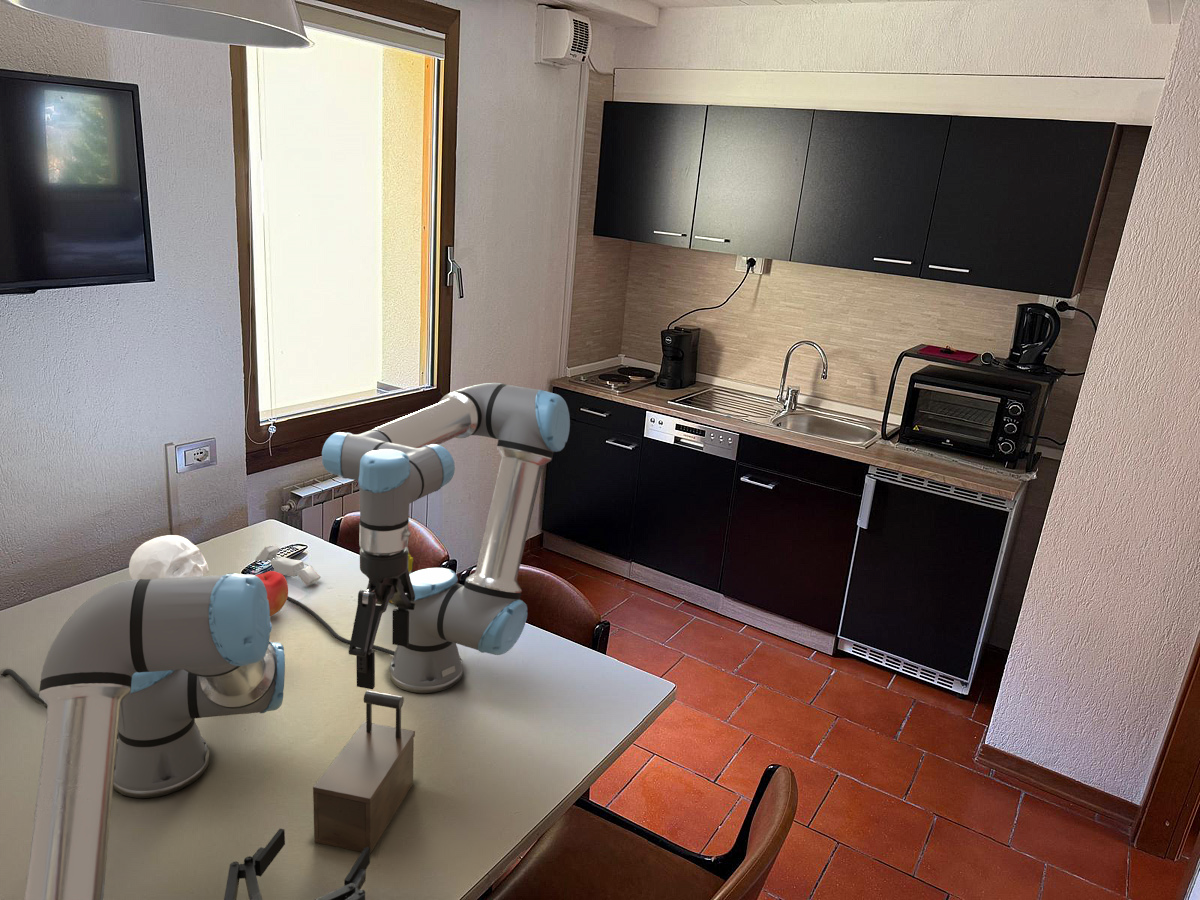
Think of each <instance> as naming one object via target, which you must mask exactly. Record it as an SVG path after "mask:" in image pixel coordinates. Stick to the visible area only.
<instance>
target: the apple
mask: <svg viewBox="0 0 1200 900" xmlns="http://www.w3.org/2000/svg"><path fill="white" fill-rule="evenodd" d="M255 576H257V577H258V578H260V579H261V580H262V582H263V583H264V586H265V588H266V591H267V600H268V602H269V608H270V617H273V616H275V615H276V614H278V613H279V612H280V611H281V610H282V609H283V607H284V606H285V605H286V603H287V602H288V601H287V598H288V596H289V584H288V581H287V579H286V577H285V575H282V574H281V573H278V572H275V571H268V570H267V571H266V572H264V573H259V574H255Z"/></svg>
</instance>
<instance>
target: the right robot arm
mask: <svg viewBox="0 0 1200 900" xmlns="http://www.w3.org/2000/svg"><path fill="white" fill-rule="evenodd" d="M570 419H571V418H570V411H569V407H568V404H567V402H566V400H565V399H564V398H563V397H562V396H561V395H560V394H557V393H553V392H551V391H546V390H543V389H537V388H530V387H523V386H518V385H517V386H516V385H512V384H506V383H502V382H487V383H479V384H475V385H471V386H467V387H463V388H460V389H457V390H454V391H452V392H449V393H447V394H445V395H444V396H443V397H441V399H440V400H439V402H438V403H435V404H433V405H430V406H427V407H425V408H422V409H420V410H418V411H415V412H413V413H410V414H408V415H405V416H402V417H399V418H397V419H395V420H392V421H390V422H387V423H385V424H382V425H380V426H377V427H374V428H373V429H370V430H368V431H364V432H362V433H358V434H354V433H351V432H341V431H338V432H334V433H332V434H331V435H330V436H329V437H328V438H326V440H325V442H324V444H323V446H322V451H321V463H322V465H323V468H324V469H325V470H326V472H328V473H329V474H332V475H334V476H338V477H340V478H342V479H346V480H347V479H348V480H353V481H357V482H358V488H359V489H358V490H359V491H358V493H359V533H358V534H359V540H358V541H359V543H358V544H359V548H360V549H359V570H360V571H361V573H362V574H364V576H366V577H367V578H368V583H367V586H366V590H362V589H360V590H359V591H358V593H357V606H356V612H355V616H354V621H353V627H352V630H351V631H352V632H351V637H350V639H347V638H345V637H342V636H341V635H340V634H338V633H337V632H336V631H335V630H334V629H333V627H331V625H330V624H329V623H327V622H326V621H325V620H324V619H323V618H322V617H321V616H320V615H318V614H317V613H316V612H315V611H314V610H312V609H311V608H310V607H308V606H307V605H305V604H304V603H302V602H300V601H299V600H297V599H296V598H293V597H291V596H289V595H288V598H287V601H286V602H290V603H292V604H293V605H295V606H297V607H299V608H300V609H302V610H303V611H304V612H306V613H308V614H309V615H310V616H311V617H312V618H314V619H315V620H316V621H317V622H318V623H319V624H320V625H321V626H322V627H323V628H324V629H326V631H327V632H328V633H329V635H331V636H332V637H333V638H334V639H335V640H337V641H339V642H341V643H343V644H345V645H349V647H348V655H349V656H350V655H351V656H356V662H355V663H356V664H355V665H356V666H355V667H356V688H362V689H367V690H371V691H374V690H375V687H376V653H375V652H376V651H377V652H380V653H383V654H387V655H389V656H392V659H391V660H390V665H389V679H390V681H391V682H392V683H393V684H394V685H395V686H396V687H398V688H399V689H401V690H404V691H407V692H410V693H416V694H430V693H431V694H432V693H438V692H441V691H445V690H447V689H450V688H451V687H453V686H455V685H456V684H457V683H458V682H459V681H460V680H461V679H462V676H463V672H464V664H463V660H462V657H461V656H460V653H459V649H458V646H457V645H460V646H462V647H463V646H464V647H467V648H470V649H473V650H476V651H478V652H480V653H483V654H484V653H487V654H490V655H494V656H501V655H504V654H506V653H508V652H509V651H510V650H511V649H512V648H513V647H514V646H515V644H516V643H517V642H518V640H519V639H520V637H521V635H522V633H523V631H524V629H525V626H526V623H527V619H528V604H526V603H525V602H524V601H523V600H522V599H521V597H522V593H523V590H522V588H521V586H520V585H519V583H518V576H519V573H520V572H519V571H520V567H521V563H522V559H523V555H524V551H525V546H526V542H527V537H528V533H529V529H530V523H531V520H532V515H533V511H534V507H535V502H536V498H537V494H538V489H539V486H540V480H541V476H542V472H543V468H544V466H545V465H547V464H549V462H552V460H553V456H554V454H555V453H558V452H561V451H562V450H563V449H564V448H565V446H566V444H567V443H568V439H569V435H570V427H571V420H570ZM471 436H477V437H478V436H479V437H485V438H491V439H495V440H497V444H496V450H497V451H498V452H499V454H500V456H501V460H500V464H499V468H498V473H497V477H496V482H495V485H494V490H493V494H492V498H491V503H490V507H489V512H488V516H487V520H486V524H485V528H484V533H483V537H482V541H481V546H480V549H479V554H478V559H477V563H476V567H475V571H474V572H473V573H472V574H470V575H469V576H467V577H466V578H465V580H464V584H460V583H458V580H459V579H458V575H457V573H456V572H455V571H454V570H452V569H450V568H445V567H428V568H422V569H418V570H416V571H412V572H411V574H409V571H408V552H409V547H408V546H409V537H411V535H412V532H411V531H410V530H409V523H410V504H412V503H415V502H416V501H418V500H419V499H421V498H424V497H426V496H428V495H430V494H432V493H434V492H439V490H441V488H442V487H445V486H446V485H447V484H449V483H450V482H451V480H452V479H453V477H454V475H455V471H456V470H455V469H456V467H455V461H454V457H453V456H452V454H451V452H450V451H449V450H448V449H447V448H445V447H444V446H442V444H444V443H446V442H448V441H450V440H452V439H466V438H469V437H471ZM390 600H391V601H392V603H391V604H393V606H394V607H395V608H393V610H392V636H391V637H392V638H391V640H392V642H391V643H392V645H393V646H396V648H395V650H392V649H389V648H386V647H383V646H379V645H375V640H376V638H377V634H378V629H379V626H380V624H381V620H382V616H383V614H384V613H385V612H387V609H388V606H389V603H390Z"/></svg>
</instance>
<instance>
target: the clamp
mask: <svg viewBox="0 0 1200 900" xmlns="http://www.w3.org/2000/svg"><path fill="white" fill-rule="evenodd" d="M280 549H281V547H279V546H278V545H277V544H272V545H266V546H264V547H263V549H262V550H261V551H260V552H259V554H258V555H257V556H256V557H255V559H254V562H255V563H256V561H259V560H262V561H268V560H271V562H270V563H269V564H271V565H272V566H273V568H274V571H275V572H278V573H281V574H282V575H283V576H288V577H292V578H296V577H298V578H299V579H300V580H301V582H303V584H304V585H305V587H309V586H312V585H314V584H316V583H318V582H319V580H320V579H321V578H322V577H321V575H320V574H319V573H318V572H317V570H315V569H314V568H313V566H312V565H310V564H309V565H308V564H307V563H305V562H304V561H303V560H301V559H300V560H299V559H292V558H289V557H285V556H278V553H279V551H280ZM273 558H274V559H273ZM272 559H273V560H272ZM305 566H306V567H305ZM270 571H271V570H270Z"/></svg>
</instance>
